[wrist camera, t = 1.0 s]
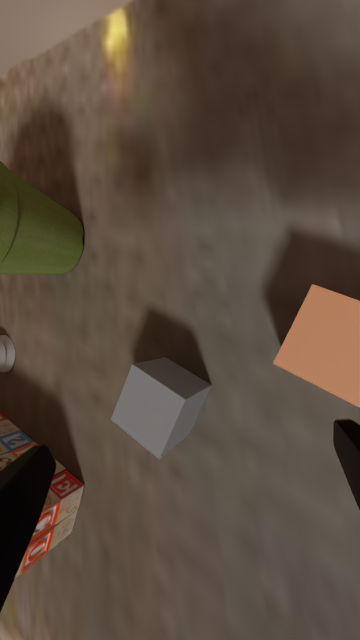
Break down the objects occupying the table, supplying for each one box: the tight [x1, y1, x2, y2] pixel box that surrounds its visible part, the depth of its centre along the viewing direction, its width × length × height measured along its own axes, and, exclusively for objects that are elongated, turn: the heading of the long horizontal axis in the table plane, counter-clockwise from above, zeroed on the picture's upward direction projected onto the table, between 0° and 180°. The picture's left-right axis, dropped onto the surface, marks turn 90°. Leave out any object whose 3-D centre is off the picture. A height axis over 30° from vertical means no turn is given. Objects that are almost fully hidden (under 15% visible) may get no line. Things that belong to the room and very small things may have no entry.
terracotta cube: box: [273, 284, 360, 408], centre depth 17 cm, size 5×5×5 cm
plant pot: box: [0, 161, 83, 275], centre depth 27 cm, size 12×12×11 cm
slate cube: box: [111, 357, 212, 459], centre depth 22 cm, size 5×5×5 cm
